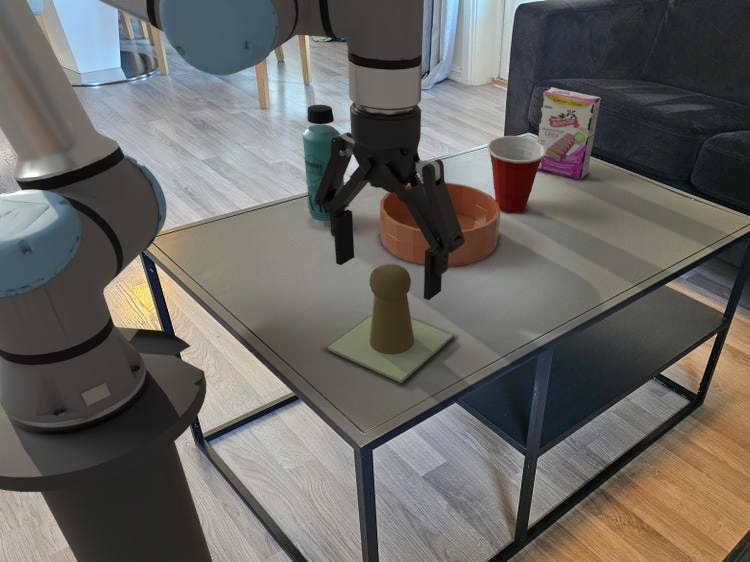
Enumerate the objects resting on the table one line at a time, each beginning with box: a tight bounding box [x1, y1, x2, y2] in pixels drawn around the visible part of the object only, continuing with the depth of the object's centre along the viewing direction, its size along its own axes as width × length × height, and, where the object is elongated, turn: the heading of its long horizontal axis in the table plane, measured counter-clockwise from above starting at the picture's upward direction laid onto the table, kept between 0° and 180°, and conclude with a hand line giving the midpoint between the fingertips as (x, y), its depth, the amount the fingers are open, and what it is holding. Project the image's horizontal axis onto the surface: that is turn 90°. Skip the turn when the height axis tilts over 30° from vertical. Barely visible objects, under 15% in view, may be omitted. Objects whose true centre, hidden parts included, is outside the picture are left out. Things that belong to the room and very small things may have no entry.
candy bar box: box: [536, 86, 602, 181], centre depth 136 cm, size 11×5×16 cm, turn 65°
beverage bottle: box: [301, 104, 346, 222], centre depth 109 cm, size 6×7×20 cm
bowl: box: [379, 181, 501, 267], centre depth 111 cm, size 20×20×6 cm
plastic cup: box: [486, 135, 546, 214], centre depth 121 cm, size 11×11×12 cm
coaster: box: [327, 315, 454, 384], centre depth 88 cm, size 12×12×1 cm
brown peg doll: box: [368, 263, 414, 354], centre depth 84 cm, size 6×6×11 cm
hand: (387, 277), depth 81 cm, fingers open, 13 cm apart
